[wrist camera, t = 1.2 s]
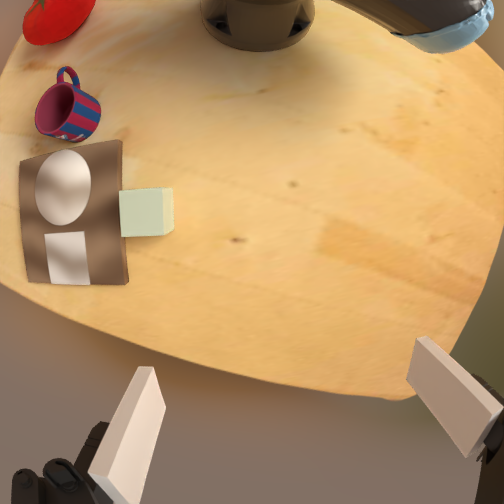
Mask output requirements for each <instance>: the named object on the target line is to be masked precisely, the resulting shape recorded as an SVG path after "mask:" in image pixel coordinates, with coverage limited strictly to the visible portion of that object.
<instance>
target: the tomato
mask: <svg viewBox="0 0 504 504" xmlns="http://www.w3.org/2000/svg"><path fill="white" fill-rule="evenodd" d="M95 1H96V0H34V2H33V5H32V6H31V7H30V9H29V10H28V11H27V12H26V14H25V16H24V21H23V34H24V37H25V39H26V40H27V41H28V42H29V43H31V44H33V45H46V44H50V43H54V42H57V41H60V40H62V39H65V38H66V37H68V36H69V35H71V34H72V33H73V32H74V31H75V30H76V29H77V28H78V27H79V26H80V25H81V24H82V23H83V22H84V21H85V19H86V18H87V17H88V15H89V14H90V12H91V10H92V8H93V7H94V5H95Z"/></svg>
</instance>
